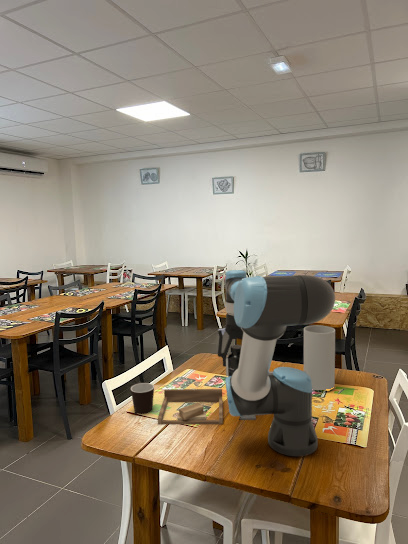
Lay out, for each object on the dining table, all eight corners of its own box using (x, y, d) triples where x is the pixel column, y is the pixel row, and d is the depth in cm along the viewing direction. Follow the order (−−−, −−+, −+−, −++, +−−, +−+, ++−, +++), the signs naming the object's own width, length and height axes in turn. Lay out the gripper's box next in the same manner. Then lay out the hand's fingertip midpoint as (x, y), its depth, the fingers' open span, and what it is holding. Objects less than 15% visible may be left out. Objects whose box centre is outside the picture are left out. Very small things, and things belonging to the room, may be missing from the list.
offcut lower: (206, 424, 139) (206, 416, 138) (177, 426, 138) (177, 418, 138) (205, 419, 142) (205, 411, 142) (177, 421, 141) (177, 413, 141)
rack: (222, 427, 136) (222, 410, 135) (158, 427, 137) (157, 411, 136) (222, 403, 154) (222, 388, 153) (165, 404, 155) (164, 389, 154)
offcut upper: (203, 413, 140) (203, 406, 140) (184, 420, 136) (184, 412, 136) (198, 410, 143) (197, 402, 143) (179, 416, 139) (179, 408, 138)
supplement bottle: (226, 380, 143) (225, 348, 141) (230, 374, 149) (229, 343, 148) (244, 382, 141) (244, 350, 139) (248, 375, 147) (248, 344, 146)
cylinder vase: (297, 385, 169) (297, 328, 166) (317, 378, 175) (317, 324, 172) (320, 395, 158) (321, 335, 155) (340, 388, 165) (341, 329, 162)
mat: (255, 419, 140) (255, 418, 140) (222, 420, 141) (222, 418, 141) (253, 404, 152) (253, 403, 152) (221, 404, 153) (221, 403, 153)
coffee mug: (148, 420, 142) (147, 393, 141) (127, 417, 145) (126, 391, 144) (162, 406, 153) (161, 381, 152) (142, 403, 156) (141, 379, 155)
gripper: (262, 310, 145) (263, 370, 148) (209, 311, 146) (210, 371, 149) (265, 315, 138) (265, 378, 141) (208, 316, 139) (210, 378, 142)
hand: (237, 374), depth 145 cm, fingers closed on supplement bottle, 7 cm apart
